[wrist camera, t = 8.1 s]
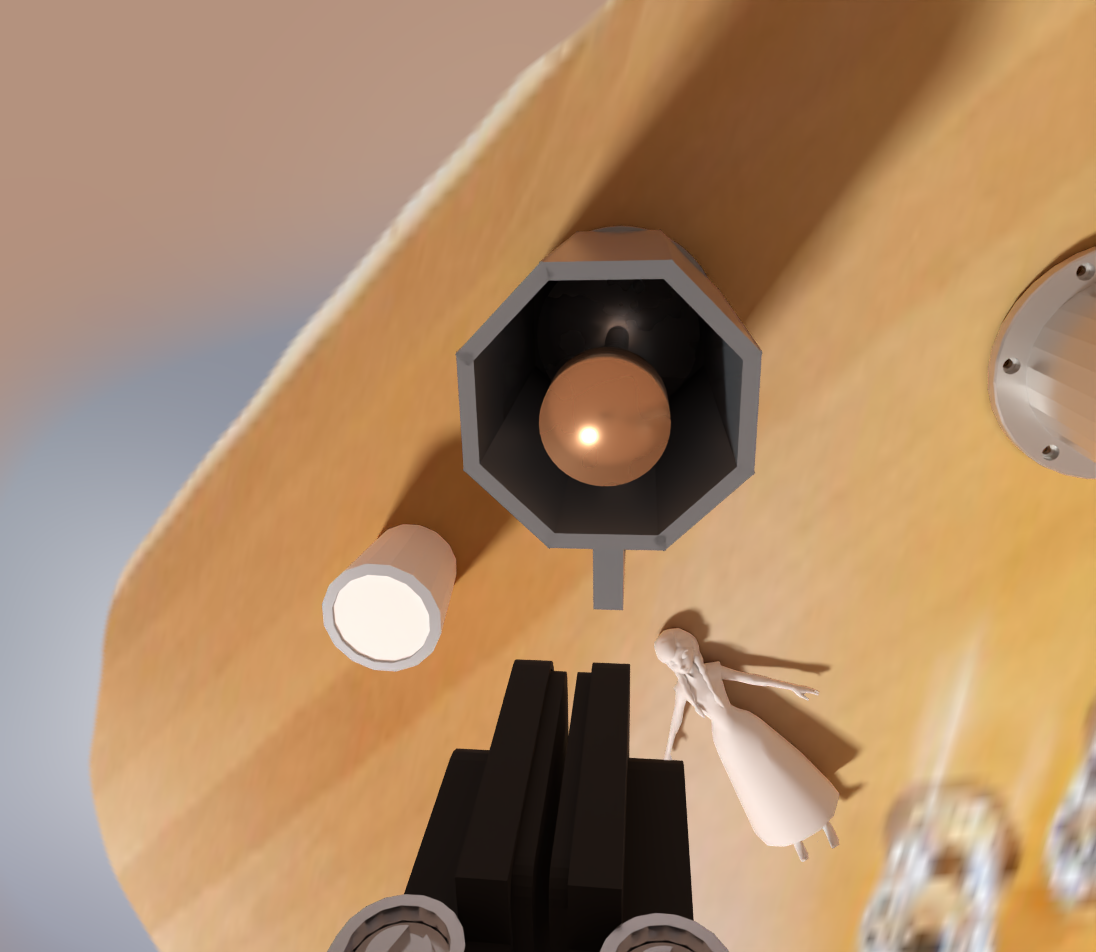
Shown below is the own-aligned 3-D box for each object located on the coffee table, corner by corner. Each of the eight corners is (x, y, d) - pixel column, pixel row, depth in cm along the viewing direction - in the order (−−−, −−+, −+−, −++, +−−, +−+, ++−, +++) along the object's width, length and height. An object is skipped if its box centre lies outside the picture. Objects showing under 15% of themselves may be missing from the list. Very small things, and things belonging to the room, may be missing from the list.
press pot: (722, 223, 43) (774, 251, 26) (711, 476, 48) (748, 638, 31) (519, 227, 44) (444, 257, 27) (528, 474, 49) (469, 629, 32)
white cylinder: (425, 495, 50) (392, 543, 44) (487, 582, 52) (465, 640, 45) (340, 546, 52) (296, 599, 46) (402, 628, 54) (369, 691, 47)
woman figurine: (743, 904, 53) (583, 694, 50) (739, 854, 57) (590, 658, 54) (909, 831, 50) (746, 602, 47) (891, 784, 54) (741, 571, 51)
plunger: (702, 251, 41) (739, 295, 25) (695, 412, 44) (726, 541, 28) (536, 254, 42) (473, 298, 26) (541, 412, 45) (487, 536, 29)
